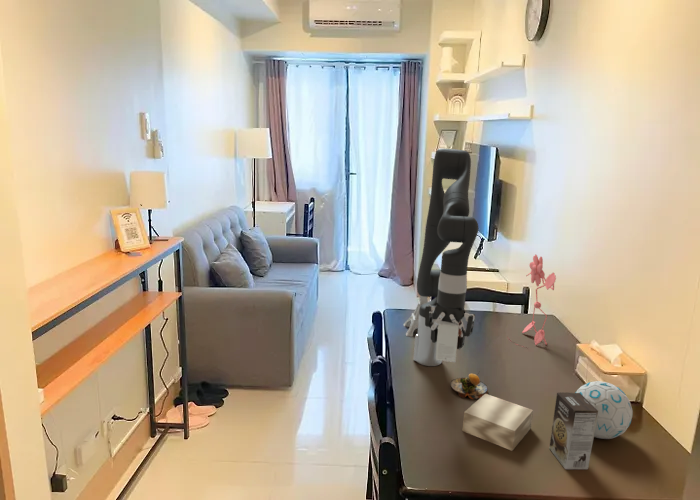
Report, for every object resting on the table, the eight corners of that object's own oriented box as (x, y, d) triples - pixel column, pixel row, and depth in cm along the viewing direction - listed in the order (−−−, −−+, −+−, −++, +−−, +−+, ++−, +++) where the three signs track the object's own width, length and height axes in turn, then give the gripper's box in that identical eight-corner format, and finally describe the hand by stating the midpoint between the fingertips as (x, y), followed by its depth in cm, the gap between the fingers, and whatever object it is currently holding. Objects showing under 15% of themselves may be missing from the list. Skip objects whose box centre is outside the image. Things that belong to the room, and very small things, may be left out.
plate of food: (463, 379, 177) (465, 358, 175) (494, 392, 169) (497, 370, 167) (442, 389, 168) (444, 368, 167) (474, 404, 160) (476, 381, 159)
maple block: (462, 432, 145) (464, 412, 144) (483, 412, 156) (485, 393, 155) (512, 451, 137) (514, 431, 136) (530, 429, 148) (533, 410, 147)
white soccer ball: (560, 418, 154) (567, 370, 151) (612, 421, 154) (620, 373, 150) (580, 448, 139) (588, 396, 136) (638, 452, 139) (648, 399, 136)
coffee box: (547, 448, 139) (555, 391, 135) (571, 448, 139) (580, 391, 136) (564, 470, 130) (573, 410, 126) (589, 469, 130) (599, 410, 127)
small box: (455, 363, 145) (459, 326, 143) (434, 360, 146) (438, 324, 144) (456, 351, 153) (459, 317, 151) (436, 349, 154) (439, 314, 152)
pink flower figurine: (532, 328, 226) (542, 248, 219) (557, 353, 201) (569, 263, 194) (496, 327, 226) (505, 247, 218) (517, 351, 200) (528, 262, 193)
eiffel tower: (439, 338, 211) (446, 264, 205) (406, 336, 211) (411, 263, 205) (435, 326, 224) (440, 256, 218) (403, 324, 224) (408, 255, 218)
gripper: (422, 286, 145) (417, 343, 149) (473, 296, 138) (467, 356, 142) (432, 280, 152) (428, 335, 156) (482, 290, 145) (475, 347, 149)
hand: (446, 344), depth 149 cm, fingers closed on small box, 6 cm apart
